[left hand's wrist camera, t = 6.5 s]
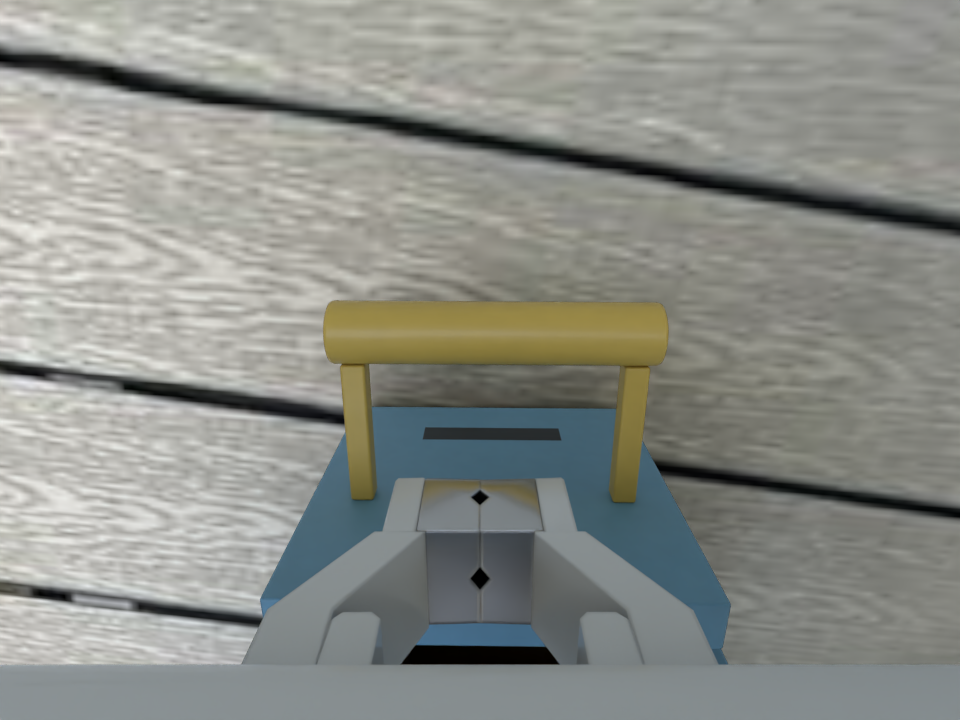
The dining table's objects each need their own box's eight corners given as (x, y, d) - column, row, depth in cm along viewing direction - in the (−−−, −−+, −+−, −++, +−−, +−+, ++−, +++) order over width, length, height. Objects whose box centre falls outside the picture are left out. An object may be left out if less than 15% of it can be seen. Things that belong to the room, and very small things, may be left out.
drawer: (346, 259, 19) (219, 355, 10) (640, 260, 18) (779, 358, 10) (387, 790, 27) (339, 1094, 18) (587, 793, 27) (635, 1101, 18)
